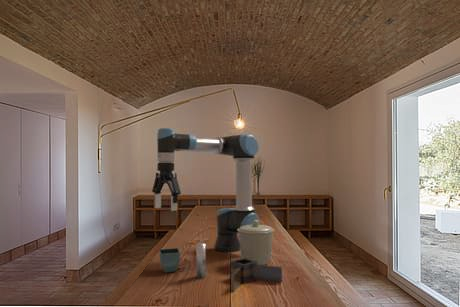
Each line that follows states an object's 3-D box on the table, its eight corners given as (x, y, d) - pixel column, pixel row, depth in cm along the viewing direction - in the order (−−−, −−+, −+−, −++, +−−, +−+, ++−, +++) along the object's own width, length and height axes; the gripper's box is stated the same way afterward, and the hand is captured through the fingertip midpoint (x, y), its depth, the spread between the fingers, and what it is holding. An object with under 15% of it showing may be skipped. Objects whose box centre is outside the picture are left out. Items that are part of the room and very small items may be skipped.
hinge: (251, 272, 155) (251, 256, 155) (283, 281, 142) (282, 264, 142) (212, 283, 140) (212, 266, 140) (243, 295, 127) (243, 276, 127)
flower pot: (160, 274, 153) (160, 253, 153) (159, 268, 161) (159, 249, 161) (180, 272, 155) (180, 252, 155) (178, 267, 163) (178, 248, 164)
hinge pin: (201, 274, 152) (201, 242, 152) (207, 277, 149) (207, 243, 149) (194, 276, 149) (194, 243, 150) (200, 279, 146) (200, 245, 147)
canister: (277, 259, 175) (276, 217, 176) (271, 270, 158) (271, 223, 159) (242, 257, 180) (242, 216, 181) (233, 267, 163) (232, 222, 163)
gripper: (144, 162, 165) (144, 207, 164) (174, 161, 146) (174, 212, 146) (158, 162, 170) (158, 206, 169) (188, 161, 151) (188, 210, 151)
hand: (165, 209), depth 157 cm, fingers open, 13 cm apart
